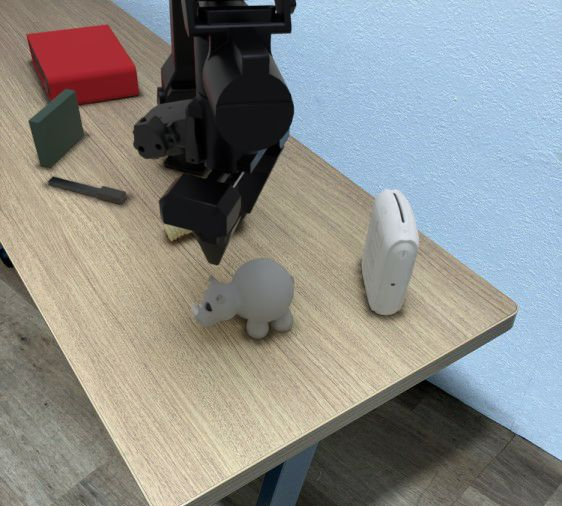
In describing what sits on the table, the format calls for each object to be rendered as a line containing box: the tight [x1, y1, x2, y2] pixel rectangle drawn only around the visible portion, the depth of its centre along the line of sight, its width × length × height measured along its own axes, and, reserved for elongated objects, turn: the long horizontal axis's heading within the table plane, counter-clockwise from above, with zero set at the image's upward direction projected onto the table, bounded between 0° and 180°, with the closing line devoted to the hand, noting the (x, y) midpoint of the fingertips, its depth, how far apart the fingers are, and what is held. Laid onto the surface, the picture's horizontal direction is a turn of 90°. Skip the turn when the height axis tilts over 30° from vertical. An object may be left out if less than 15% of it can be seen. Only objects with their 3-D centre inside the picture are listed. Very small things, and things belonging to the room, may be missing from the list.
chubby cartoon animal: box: [190, 257, 295, 340], centre depth 69 cm, size 7×12×8 cm, turn 112°
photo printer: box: [361, 188, 420, 316], centre depth 73 cm, size 10×4×12 cm, turn 4°
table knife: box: [47, 176, 128, 205], centre depth 86 cm, size 11×2×1 cm, turn 72°
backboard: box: [27, 89, 85, 169], centre depth 90 cm, size 2×10×7 cm, turn 162°
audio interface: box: [25, 23, 140, 105], centre depth 105 cm, size 18×14×5 cm
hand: (230, 236), depth 64 cm, fingers open, 9 cm apart
